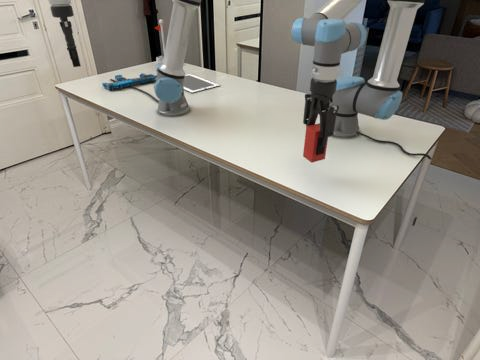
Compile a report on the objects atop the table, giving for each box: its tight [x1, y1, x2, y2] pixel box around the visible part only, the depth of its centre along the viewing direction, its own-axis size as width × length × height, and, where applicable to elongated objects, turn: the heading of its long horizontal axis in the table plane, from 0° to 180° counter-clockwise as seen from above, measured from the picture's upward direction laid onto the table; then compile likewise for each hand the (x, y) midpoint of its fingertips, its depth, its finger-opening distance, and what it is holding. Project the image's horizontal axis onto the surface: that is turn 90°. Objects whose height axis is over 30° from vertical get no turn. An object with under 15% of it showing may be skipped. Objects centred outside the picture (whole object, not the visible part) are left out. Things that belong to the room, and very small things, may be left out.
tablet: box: [183, 73, 221, 94], centre depth 207 cm, size 32×20×1 cm, turn 41°
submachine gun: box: [101, 73, 157, 91], centre depth 209 cm, size 34×4×25 cm
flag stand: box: [154, 18, 166, 65], centre depth 234 cm, size 13×13×30 cm
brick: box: [302, 122, 329, 164], centre depth 109 cm, size 5×5×11 cm
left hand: (75, 62), depth 140 cm, fingers open, 13 cm apart
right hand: (314, 149), depth 111 cm, fingers closed on brick, 5 cm apart
